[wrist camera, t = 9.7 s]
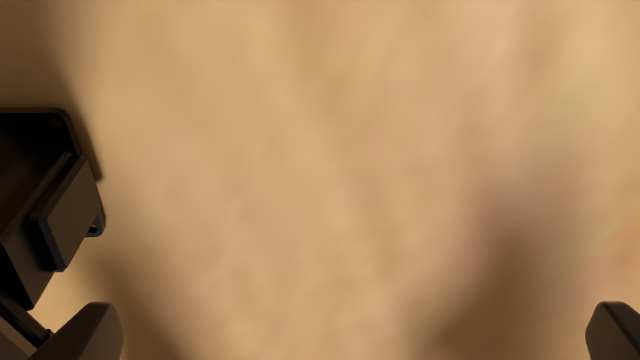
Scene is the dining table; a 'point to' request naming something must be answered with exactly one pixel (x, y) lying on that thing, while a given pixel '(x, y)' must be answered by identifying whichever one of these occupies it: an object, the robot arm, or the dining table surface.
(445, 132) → the dining table surface
